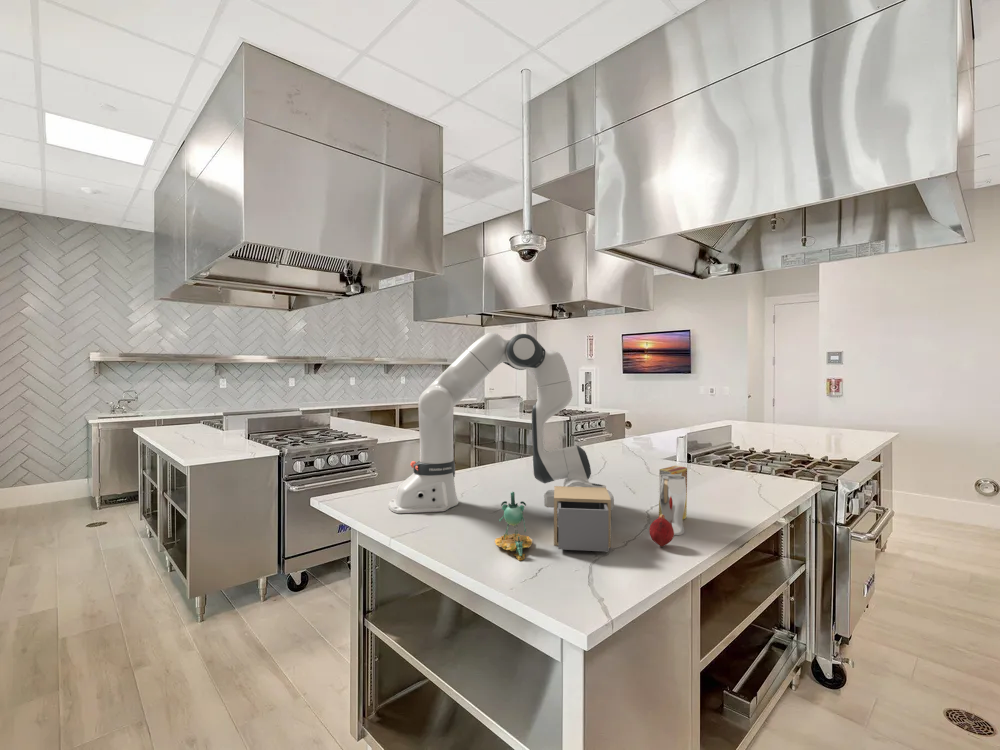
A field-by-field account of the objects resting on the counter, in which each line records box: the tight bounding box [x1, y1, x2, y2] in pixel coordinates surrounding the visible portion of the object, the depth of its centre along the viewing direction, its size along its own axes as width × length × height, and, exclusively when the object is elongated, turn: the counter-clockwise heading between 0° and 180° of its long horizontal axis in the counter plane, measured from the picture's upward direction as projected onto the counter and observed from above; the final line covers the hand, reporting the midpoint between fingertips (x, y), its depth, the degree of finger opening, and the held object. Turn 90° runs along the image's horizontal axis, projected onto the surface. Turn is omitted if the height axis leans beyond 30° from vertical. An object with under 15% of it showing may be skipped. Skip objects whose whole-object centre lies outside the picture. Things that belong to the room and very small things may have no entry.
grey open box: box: [557, 501, 609, 553], centre depth 122 cm, size 20×12×10 cm, turn 173°
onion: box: [648, 514, 675, 547], centre depth 117 cm, size 6×6×8 cm
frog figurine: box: [494, 491, 533, 561], centre depth 118 cm, size 10×18×15 cm, turn 175°
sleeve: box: [553, 485, 612, 549], centre depth 123 cm, size 12×14×12 cm
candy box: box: [658, 465, 688, 520], centre depth 138 cm, size 9×4×15 cm, turn 129°
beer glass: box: [658, 474, 686, 536], centre depth 128 cm, size 7×7×15 cm
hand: (579, 507), depth 132 cm, fingers closed, pressing on grey open box
